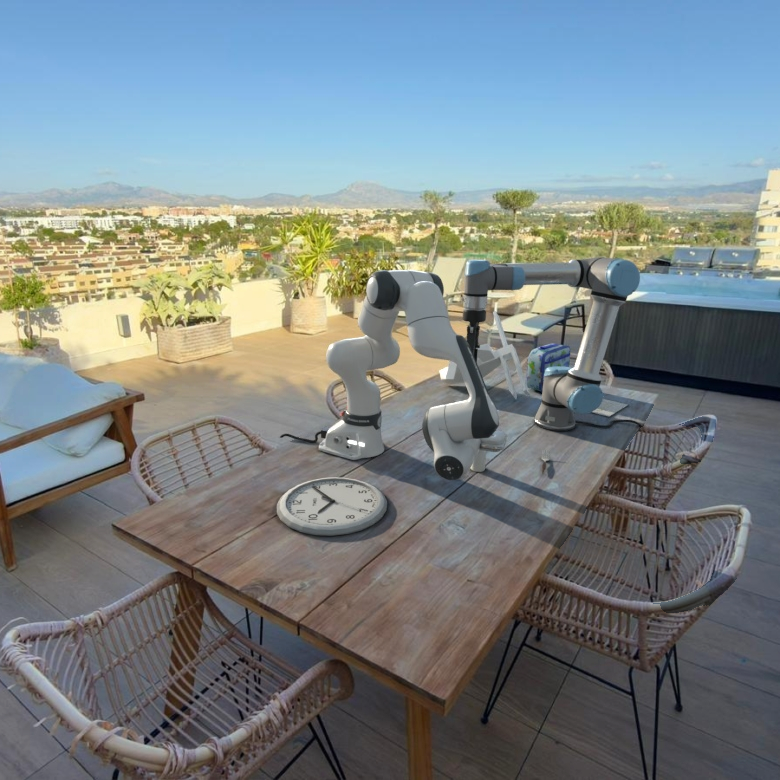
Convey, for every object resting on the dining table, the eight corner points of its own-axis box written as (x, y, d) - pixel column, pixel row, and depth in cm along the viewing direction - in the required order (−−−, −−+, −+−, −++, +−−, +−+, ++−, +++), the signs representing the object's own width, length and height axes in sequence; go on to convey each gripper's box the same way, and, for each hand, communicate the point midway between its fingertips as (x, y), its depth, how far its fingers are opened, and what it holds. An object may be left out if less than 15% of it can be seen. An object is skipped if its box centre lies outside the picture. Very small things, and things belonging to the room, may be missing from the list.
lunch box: (542, 395, 240) (547, 351, 233) (522, 390, 247) (526, 347, 241) (569, 384, 257) (575, 343, 251) (550, 380, 264) (554, 339, 258)
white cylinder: (472, 472, 164) (475, 424, 159) (469, 465, 168) (472, 419, 163) (486, 471, 164) (489, 424, 159) (483, 465, 168) (486, 419, 164)
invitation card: (608, 416, 214) (573, 407, 224) (608, 416, 214) (573, 408, 224) (628, 404, 229) (594, 396, 238) (628, 405, 229) (594, 397, 238)
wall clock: (392, 527, 129) (268, 531, 127) (391, 533, 130) (269, 537, 127) (383, 473, 158) (282, 475, 155) (383, 478, 158) (282, 480, 156)
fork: (538, 474, 162) (538, 468, 162) (542, 454, 177) (542, 449, 176) (546, 475, 162) (547, 470, 161) (550, 455, 176) (550, 450, 175)
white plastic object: (461, 429, 252) (437, 405, 227) (444, 352, 274) (420, 323, 250) (535, 404, 240) (518, 377, 215) (510, 326, 262) (492, 293, 237)
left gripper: (504, 439, 134) (511, 421, 146) (427, 427, 141) (440, 411, 153) (502, 461, 136) (509, 442, 148) (426, 449, 142) (439, 431, 155)
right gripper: (467, 303, 182) (463, 362, 189) (458, 313, 159) (454, 380, 166) (488, 304, 181) (484, 363, 187) (483, 315, 157) (478, 382, 164)
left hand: (474, 426), depth 151 cm, fingers open, 8 cm apart
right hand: (470, 371), depth 176 cm, fingers open, 13 cm apart
